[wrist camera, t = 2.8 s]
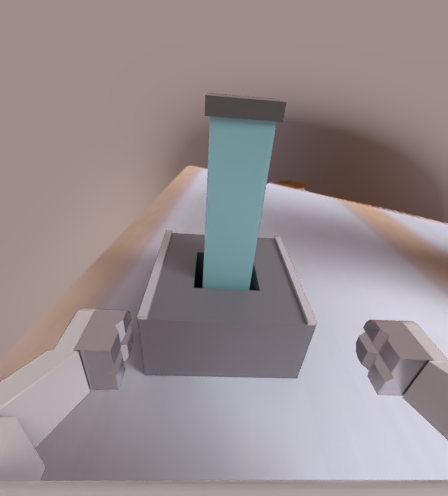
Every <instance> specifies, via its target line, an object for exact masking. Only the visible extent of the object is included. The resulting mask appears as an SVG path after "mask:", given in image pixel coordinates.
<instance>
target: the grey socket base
mask: <svg viewBox="0 0 448 496" xmlns="http://www.w3.org/2000/svg"><path fill="white" fill-rule="evenodd" d="M204 245H205V235H196V234H177V233H172V231H169V230H166V233H165V236H164V238H163V241H162V244H161V247H160V250H159V253H158V256H157V259H156V262H155V265H154V268H153V271H152V274H151V277H150V280H149V283H148V286H147V289H146V292H145V295H144V298H143V301H142V304H141V306H140V309H139V312H138V315H137V318H138V326H139V334H140V342H141V350H142V357H143V365H144V373H145V375H173V376H219V377H266V378H297V377H298V374H299V371H300V369H301V366H302V363H303V360H304V358H305V355H306V352H307V349H308V346H309V344H310V341H311V338H312V335H313V333H314V330H315V327H316V324H317V321H316V318H315V316H314V314H313V311H312V309H311V307H310V304H309V302H308V300H307V297H306V295H305V293H304V290H303V288H302V285H301V283H300V281H299V278H298V276H297V274H296V271H295V269H294V267H293V264H292V262H291V260H290V257H289V255H288V253H287V250H286V248H285V246H284V243H283V241H282V239H281V237H279V236H275V239H270V238H258V239H257V245H256V251H255V258H254V264H253V270H252V276H251V282H250V289H249V290H230V289H206V288H203V267H204Z"/></svg>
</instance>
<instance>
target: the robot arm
mask: <svg viewBox="0 0 448 496" xmlns="http://www.w3.org/2000/svg"><path fill="white" fill-rule="evenodd" d="M130 321H131V316H130V312H129V311H123V310H107V309H86V308H81V309H80V310H78V311H77V312H76V314H75V316H74V317H73V319H72V321H71V322H70V324H69V325H68V327H67V329H66V330H65V332H64V333H63V335H62V337H61V338H60V340H59V342H58V343H57V345H56V346H55V348H54V350H47V351H46V352H44V353H43V354H41V355H40V356H38V357H37V358H35V359H34V360H32V361H31V362H29V363H28V364H26V365H25V366H23V367H22V368H20V369H19V370H17V371H16V372H14V373H13V374H11V375H10V376H8V377H7V378H5V379H4V380H2V381H1V382H0V496H448V480H156V481H40V480H41V478H42V475H43V473H44V471H45V469H46V468H45V465H44V463H43V461H42V459H41V458H40V456H39V454H38V453H37V451H36V449H35V448H36V447H37V446H38V445H39V444H40V443H41V442H42V441H43V440H44V439H45V438H46V437H47V436H48V435H49V434H50V433H51V432H52V431H53V430H54V429H55V427H56V426H57V425H58V424H59V423H60V422H61V421H62V420H63V419H64V418H65V417H66V416H67V415H68V414H69V413H70V412H71V411H72V410H73V409H74V408H75V407H76V406H77V405H78V404H79V403H80V402H81V401H82V400H83V399H84V398H85V397H86V395H87V394H88V393H89V392H90V390H119V387H120V384H121V381H122V378H123V375H124V372H125V366H124V361H126V360H127V359H128V358H129V356H130V353H131V349H132V343H133V330H132V328H131V327H130V326H129V323H130ZM363 328H364V330H365V333H363V334H362V335H360V336H359V338H358V340H357V342H356V352H357V356H358V359H359V361H360V363H361V364H362V365H363V366H364V367H366V368H367V369H368V370H369V371H368V378H369V380H370V382H371V383H372V385H373V387H374V389H375V391H376V393H377V395H393V396H403V398H404V399H405V400H406V401H407V402H408V403H409V404H410V405H411V406H412V407H413V408H414V409H415V410H416V411H417V412H419V413H420V414H421V415H422V416H423V417H424V418H425V419H426V420H427V421H428V422H429V423H430V424H431V425H432V426H433V427H434V428H435V429H437V430H438V431H439V432H440V433H441V434H442V435H443V436H444V437H445V438H446V439H447V440H448V359H447V358H446V357H445V355H444V354H443V353H442V352H441V351H440V350H439V348H438V347H437V346H436V345H435V344H434V343H433V341H432V340H431V339H430V338H429V337H428V336H427V334H426V333H425V332H424V331H423V330H422V329H421V327H420V326H419V325H418V324H417V323H415V322H413V321H393V320H369V321H367V322H366V323H365V325H364V327H363Z"/></svg>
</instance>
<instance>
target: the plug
mask: <svg viewBox="0 0 448 496" xmlns="http://www.w3.org/2000/svg"><path fill="white" fill-rule="evenodd" d="M285 106H286V102H284V101H280V100H276V99H271V98H261V97H250V96H238V95H227V94H215V93H207V94H206V96H205V116H210V134H209V155H208V178H207V200H206V223H205V245H204V267H203V288H206V289H230V290H249V289H250V282H251V276H252V270H253V264H254V258H255V251H256V245H257V239H258V233H259V227H260V220H261V214H262V208H263V202H264V196H265V189H266V183H267V177H268V171H269V165H270V159H271V152H272V146H273V139H274V134H275V128H276V122H283V118H284V112H285Z"/></svg>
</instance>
